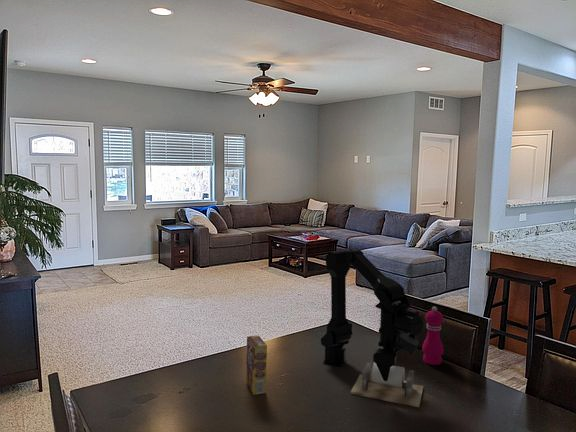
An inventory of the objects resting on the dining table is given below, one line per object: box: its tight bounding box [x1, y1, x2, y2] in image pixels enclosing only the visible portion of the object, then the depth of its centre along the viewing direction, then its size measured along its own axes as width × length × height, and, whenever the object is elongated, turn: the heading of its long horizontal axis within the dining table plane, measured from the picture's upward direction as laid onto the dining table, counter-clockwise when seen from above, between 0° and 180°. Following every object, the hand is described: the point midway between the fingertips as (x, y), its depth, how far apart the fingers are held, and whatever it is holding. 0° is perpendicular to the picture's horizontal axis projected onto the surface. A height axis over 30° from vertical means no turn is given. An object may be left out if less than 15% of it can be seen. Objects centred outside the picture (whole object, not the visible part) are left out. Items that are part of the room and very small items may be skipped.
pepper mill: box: [421, 306, 444, 366], centre depth 159 cm, size 7×7×20 cm
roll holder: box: [350, 362, 424, 408], centre depth 138 cm, size 20×12×6 cm, turn 68°
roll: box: [371, 361, 406, 388], centre depth 137 cm, size 9×6×6 cm, turn 68°
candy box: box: [245, 334, 268, 396], centre depth 138 cm, size 9×4×15 cm, turn 20°
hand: (388, 374), depth 137 cm, fingers open, 9 cm apart
